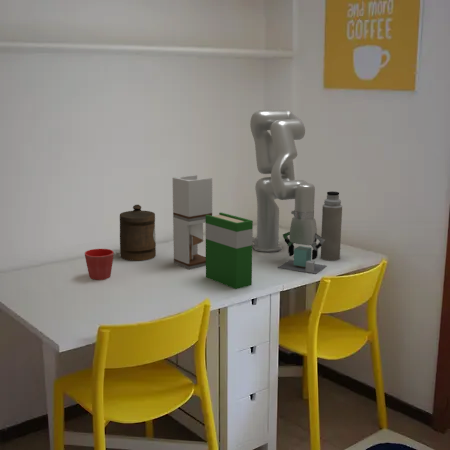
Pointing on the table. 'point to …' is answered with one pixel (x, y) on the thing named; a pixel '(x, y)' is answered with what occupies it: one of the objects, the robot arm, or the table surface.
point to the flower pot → (99, 263)
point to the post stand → (309, 268)
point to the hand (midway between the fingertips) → (302, 257)
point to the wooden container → (137, 235)
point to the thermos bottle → (331, 227)
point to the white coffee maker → (190, 218)
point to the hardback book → (229, 250)
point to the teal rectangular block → (302, 255)
